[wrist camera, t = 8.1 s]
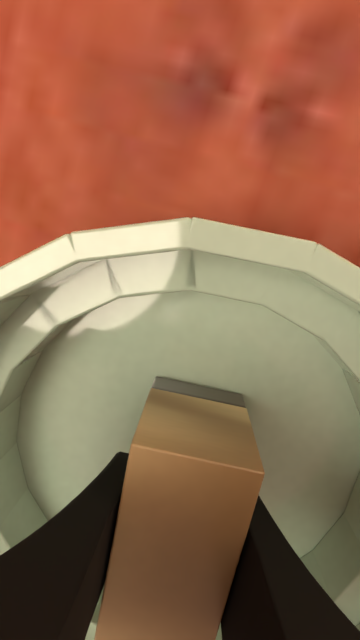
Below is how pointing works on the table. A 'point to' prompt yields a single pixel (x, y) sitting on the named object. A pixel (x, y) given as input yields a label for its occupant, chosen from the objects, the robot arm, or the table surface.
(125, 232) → the bowl
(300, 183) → the table surface
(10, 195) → the table surface
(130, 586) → the eraser
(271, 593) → the robot arm
